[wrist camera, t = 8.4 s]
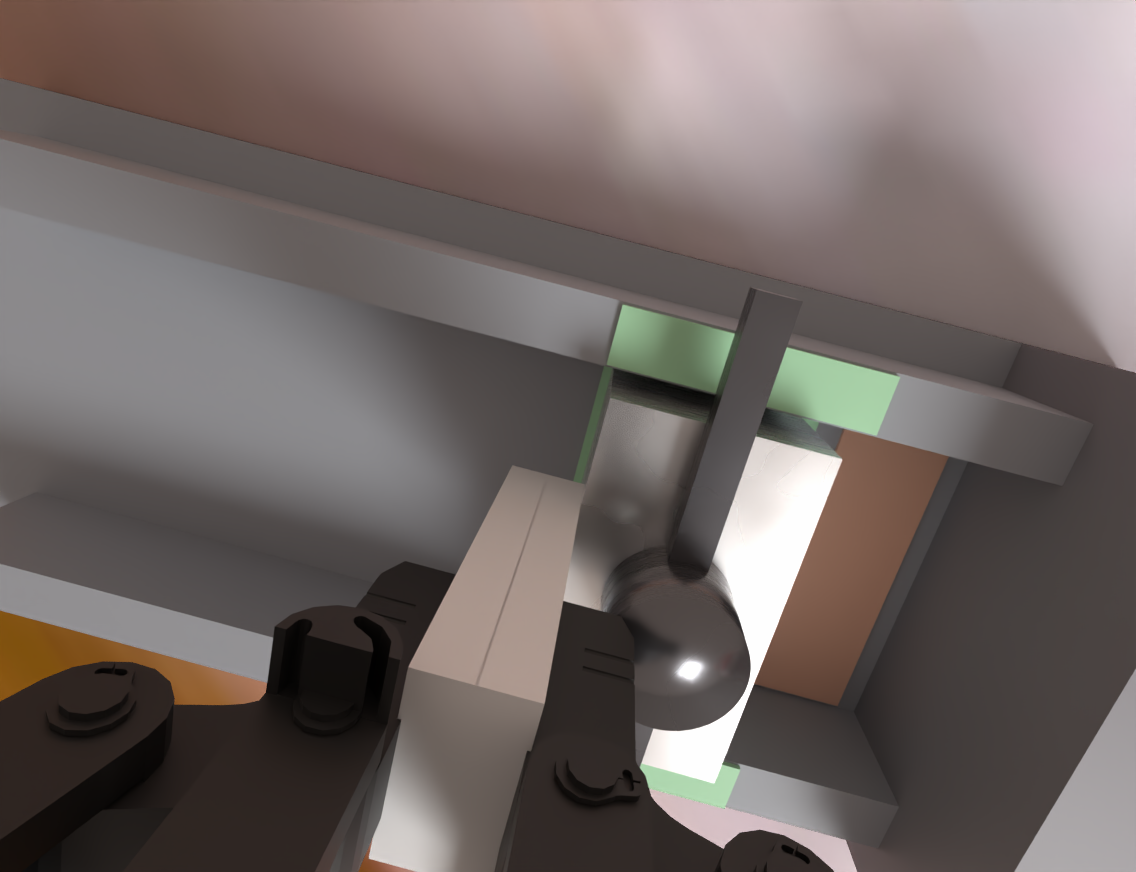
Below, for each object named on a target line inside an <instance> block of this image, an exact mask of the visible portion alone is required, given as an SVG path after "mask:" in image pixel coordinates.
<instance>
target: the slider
mask: <svg viewBox="0 0 1136 872" xmlns="http://www.w3.org/2000/svg"><path fill="white" fill-rule="evenodd" d="M802 303H803V301H800V300H797V299H794V298H791V297H787V296H783V295H779V294H775V293H772V292H768V291H764V290H760V289H756V288H752V287H750V288H749V291H748V295H747V298H746V301H745V304H744V307H743V310H742V313H741V316H740V319H739V322H738V325H737V328H736V332H735V335H734V338H733V341H732V344H731V347H730V350H729V353H728V356H727V359H726V362H725V366H724V369H723V372H722V375H721V378H720V381H719V384H718V387H717V390H716V393H715V395H714V394H710V393H706V392H702V391H698V390H695V389H691V388H687V387H683V386H679V385H676V384H672V383H668V382H664V381H660V380H657V379H653V378H649V377H645V376H641V375H637V374H634V373H630V372H626V371H622V370H618V369H615V368H612V371H611V375H610V378H609V382H608V386H607V389H606V393H605V397H604V400H603V404H602V408H601V411H600V415H599V419H598V422H597V426H596V430H595V433H594V437H593V441H592V444H591V448H590V452H589V455H588V459H587V463H586V466H585V470H584V474H583V478H582V481H581V484H584V487H583V493H582V498H581V503H580V509H579V517H578V522H577V528H576V533H575V539H574V544H573V550H572V555H571V561H570V566H569V572H568V577H567V583H566V588H565V594H564V599H563V601H566V602H570V603H573V604H577V605H581V606H585V607H588V608H592V609H596V610H599V611H603V612H607V613H611V614H614V615H618V616H621V617H622V619H623V621H624V622H625V624H626V626H627V627H628V629H629V631H630V632H631V634H632V636H633V638H634V669H635V680H634V685H635V741H636V763H637V764H638V766H639V767H640V766H641V764H645V765H649V766H652V767H656V768H660V769H663V770H667V771H671V772H674V773H678V774H682V775H686V776H689V777H693V778H697V779H700V780H704V781H708V782H711V783H715V780H716V778H717V775H718V773H719V770H720V768H721V765H722V763H723V760H724V758H725V755H726V753H727V750H728V747H729V745H730V742H731V740H732V737H733V735H734V732H735V730H736V727H737V725H738V722H739V720H740V717H741V715H742V712H743V710H744V707H745V705H746V702H747V699H748V697H749V694H750V692H751V689H752V687H753V684H754V682H755V679H756V677H757V674H758V672H759V669H760V667H761V664H762V662H763V659H764V657H765V654H766V651H767V649H768V646H769V644H770V641H771V639H772V636H773V634H774V631H775V629H776V626H777V624H778V621H779V619H780V616H781V614H782V611H783V608H784V606H785V603H786V601H787V598H788V596H789V593H790V591H791V588H792V586H793V583H794V581H795V578H796V576H797V573H798V571H799V568H800V566H801V563H802V560H803V558H804V555H805V553H806V550H807V548H808V545H809V543H810V540H811V538H812V535H813V533H814V530H815V528H816V525H817V523H818V520H819V518H820V515H821V512H822V510H823V507H824V505H825V502H826V500H827V497H828V495H829V492H830V490H831V487H832V485H833V482H834V480H835V477H836V475H837V472H838V469H839V467H840V464H841V462H842V458H841V457H840V456H839V455H838V454H837V453H836V452H835V451H834V450H833V449H832V448H831V447H830V446H829V445H828V444H827V443H826V442H825V441H824V440H823V439H822V438H821V437H820V436H819V435H818V434H817V433H816V432H815V431H814V430H813V429H812V428H811V426H810V425H809V424H808V423H807V422H806V421H805V420H804V419H803V418H801V417H797V416H794V415H790V414H786V413H782V412H778V411H775V410H771V409H767V408H766V405H767V403H768V400H769V397H770V394H771V391H772V388H773V385H774V383H775V380H776V377H777V374H778V371H779V368H780V365H781V363H782V360H783V357H784V354H785V351H786V348H787V345H788V343H789V340H790V337H791V334H792V331H793V328H794V325H795V323H796V320H797V317H798V314H799V311H800V308H801V305H802Z"/></svg>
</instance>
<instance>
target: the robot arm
mask: <svg viewBox="0 0 1136 872" xmlns="http://www.w3.org/2000/svg"><path fill="white" fill-rule="evenodd" d="M583 487H584V484H581V483H578V482H574V481H570V480H566V479H563V478H559V477H555V476H551V475H548V474H544V473H540V472H536V471H532V470H529V469H525V468H521V467H517V466H514V465H512V467H511V469H510V471H509V473H508V475H507V477H506V479H505V481H504V483H503V485H502V487H501V489H500V490H499V492H498V494H497V496H496V498H495V500H494V502H493V504H492V506H491V508H490V510H489V512H488V514H487V516H486V518H485V519H484V521H483V523H482V525H481V527H480V529H479V531H478V533H477V535H476V537H475V539H474V541H473V543H472V545H471V547H470V549H469V550H468V552H467V554H466V556H465V558H464V560H463V562H462V564H461V566H460V568H459V570H458V572H457V574H452V573H448V572H445V571H441V570H437V569H434V568H430V567H426V566H422V565H419V564H415V563H411V562H407V561H404V562H402V563H400V564H398V565H396V566H394V567H392V568H390V569H388V570H386V571H384V572H383V573H381V574H380V575H379V577H378V578H377V579H376V581H375V582H374V583H373V585H372V586H371V587H370V589H369V590H368V591H367V594H366V596H364V597H363V598H362V599H361V601H360V602H359V603H358V605H357V606H356V608H355V607H349V606H342V605H332V606H319V607H312V608H309V609H306V610H303V611H300V612H297V613H293V614H291V615H290V616H288V617H287V618H285V619H284V620H283V621H281V622H280V623H279V624H277V625H276V626H275V628H274V635H273V643H272V650H271V658H270V666H269V673H268V681H267V688H266V693H265V694H264V696H263V697H262V698H261V699H260V701H255V702H251V703H246V704H237V705H174V699H175V698H174V695H173V691H172V687H171V683H170V681H169V680H167V679H166V678H165V677H164V676H163V675H162V674H160V673H159V672H158V671H157V670H156V669H152V668H149V667H146V666H143V665H139V664H136V663H133V662H99V663H93V664H88V665H82V666H77V667H72V668H70V669H67V670H65V671H62V672H59V673H57V674H54V675H52V676H49V677H47V678H44V679H42V680H40V681H38V682H36V683H35V684H33V685H31V686H29V687H27V688H25V689H23V690H21V691H19V692H18V693H16V694H14V695H12V696H10V697H8V698H6V699H4V700H2V701H1V702H0V872H358V871H359V868H360V866H361V864H362V861H363V859H364V857H365V854H366V852H367V850H368V847H369V845H370V843H371V840H372V838H373V840H372V845H371V850H370V855H369V859H372V860H376V861H380V862H383V863H387V864H391V865H394V866H398V867H402V868H405V869H409V870H413V871H416V872H834V871H833V870H832V869H831V868H830V867H829V866H828V865H827V864H826V863H824V862H823V861H822V860H821V859H820V858H819V857H818V856H816V855H815V854H814V853H813V852H812V851H811V850H810V849H808V848H806V847H804V846H803V845H801V844H799V843H797V842H795V841H793V840H792V839H790V838H788V837H786V836H784V835H780V834H776V833H771V832H767V831H763V830H756V831H749V832H742V833H739V834H738V835H737V836H735V837H734V838H733V839H732V840H731V841H729V842H728V843H727V844H726V845H725V848H724V849H723V848H721V847H719V846H717V845H716V844H714V843H712V842H710V841H709V840H707V839H705V838H703V837H702V836H700V835H698V834H696V833H695V832H693V831H691V830H689V829H688V828H686V827H685V826H683V825H682V824H680V823H679V822H677V821H676V820H674V819H673V818H672V817H670V816H669V815H668V814H667V813H666V812H665V811H664V810H663V809H662V808H661V807H660V806H659V805H658V804H657V803H656V802H655V801H654V800H653V798H652V797H651V794H650V791H649V787H648V783H647V779H646V776H645V774H644V773H643V771H642V770H641V769H640V767H639V766H638V764H637V763H636V741H635V685H634V680H635V669H634V638H633V636H632V634H631V632H630V631H629V629H628V627H627V626H626V624H625V622H624V621H623V619H622V617H621V616H618V615H614V614H611V613H607V612H603V611H599V610H596V609H592V608H588V607H585V606H581V605H577V604H573V603H570V602H566V601H563V599H564V594H565V588H566V583H567V577H568V572H569V566H570V561H571V555H572V550H573V544H574V539H575V533H576V528H577V522H578V517H579V509H580V503H581V498H582V493H583Z"/></svg>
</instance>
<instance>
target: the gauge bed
mask: <svg viewBox="0 0 1136 872" xmlns="http://www.w3.org/2000/svg"><path fill="white" fill-rule="evenodd" d="M750 287H752V288H756V289H760V290H764V291H768V292H772V293H775V294H779V295H783V296H787V297H791V298H794V299H797V300H800V301H803V303H802V305H801V308H800V311H799V314H798V317H797V320H796V323H795V325H794V328H793V331H792V334H791V337H790V340H789V343H788V345H787V348H786V351H785V354H784V357H783V360H782V363H781V365H780V368H779V371H778V374H777V377H776V380H775V383H774V385H773V388H772V391H771V394H770V397H769V400H768V403H767V405H766V408H767V409H771V410H775V411H778V412H782V413H786V414H790V415H794V416H797V417H801V418H803V419H804V420H805V421H806V422H807V423H808V424H809V425H810V426H811V428H812V429H813V430H814V431H815V432H816V433H817V434H818V435H819V436H820V437H821V438H822V439H823V440H824V441H825V442H826V443H827V444H828V445H829V446H830V447H831V448H832V449H833V450H834V451H835V452H836V453H837V454H838V455H839V456H840V457H841V458H842V462H841V464H840V467H839V469H838V472H837V475H836V477H835V480H834V482H833V485H832V487H831V490H830V492H829V495H828V497H827V500H826V502H825V505H824V507H823V510H822V512H821V515H820V518H819V520H818V523H817V525H816V528H815V530H814V533H813V535H812V538H811V540H810V543H809V545H808V548H807V550H806V553H805V555H804V558H803V560H802V563H801V566H800V568H799V571H798V573H797V576H796V578H795V581H794V583H793V586H792V588H791V591H790V593H789V596H788V598H787V601H786V603H785V606H784V608H783V611H782V614H781V616H780V619H779V621H778V624H777V626H776V629H775V631H774V634H773V636H772V639H771V641H770V644H769V646H768V649H767V651H766V654H765V657H764V659H763V662H762V664H761V667H760V669H759V672H758V674H757V677H756V679H755V682H754V684H753V687H752V689H751V692H750V694H749V697H748V699H747V702H746V705H745V707H744V710H743V712H742V715H741V717H740V720H739V722H738V725H737V727H736V730H735V732H734V735H733V737H732V740H731V742H730V745H729V747H728V750H727V753H726V755H725V758H724V760H723V763H722V765H721V768H720V770H719V773H718V775H717V778H716V780H715V783H711V782H708V781H704V780H700V779H697V778H693V777H689V776H686V775H682V774H678V773H674V772H671V771H667V770H663V769H660V768H656V767H652V766H649V765H645V764H641V766H640V769H641V770H642V771H643V773H644V774H645V776H646V779H647V783H648V787H649V789H653V790H657V791H660V792H664V793H668V794H672V795H675V796H679V797H683V798H686V799H690V800H694V801H697V802H701V803H705V804H708V805H712V806H716V807H719V808H723V809H725V807H727V808H730V809H734V810H738V811H741V812H745V813H749V814H753V815H756V816H760V817H764V818H767V819H771V820H775V821H778V822H782V823H786V824H789V825H793V826H797V827H800V828H804V829H808V830H811V831H815V832H819V833H823V834H826V835H830V836H834V837H837V838H841V839H845V840H846V841H847V844H848V847H849V850H850V853H851V855H852V858H853V861H854V864H855V866H856V869H857V872H1136V373H1134V372H1130V371H1126V370H1122V369H1118V368H1115V367H1111V366H1107V365H1103V364H1099V363H1095V362H1091V361H1088V360H1084V359H1080V358H1076V357H1072V356H1068V355H1065V354H1061V353H1057V352H1053V351H1049V350H1045V349H1041V348H1038V347H1034V346H1030V345H1026V344H1022V343H1018V342H1014V341H1011V340H1007V339H1003V338H999V337H995V336H991V335H988V334H984V333H980V332H976V331H972V330H968V329H964V328H961V327H957V326H953V325H949V324H945V323H941V322H938V321H934V320H930V319H926V318H922V317H918V316H914V315H911V314H907V313H903V312H899V311H895V310H891V309H887V308H884V307H880V306H876V305H872V304H868V303H864V302H861V301H857V300H853V299H849V298H845V297H841V296H837V295H834V294H830V293H826V292H822V291H818V290H814V289H811V288H807V287H803V286H799V285H795V284H791V283H787V282H784V281H780V280H776V279H772V278H768V277H764V276H761V275H757V274H753V273H749V272H745V271H741V270H737V269H734V268H730V267H726V266H722V265H718V264H714V263H710V262H707V261H703V260H699V259H695V258H691V257H687V256H684V255H680V254H676V253H672V252H668V251H664V250H660V249H657V248H653V247H649V246H645V245H641V244H637V243H634V242H630V241H626V240H622V239H618V238H614V237H610V236H607V235H603V234H599V233H595V232H591V231H587V230H583V229H580V228H576V227H572V226H568V225H564V224H560V223H557V222H553V221H549V220H545V219H541V218H537V217H533V216H530V215H526V214H522V213H518V212H514V211H510V210H507V209H503V208H499V207H495V206H491V205H487V204H483V203H480V202H476V201H472V200H468V199H464V198H460V197H457V196H453V195H449V194H445V193H441V192H437V191H433V190H430V189H426V188H422V187H418V186H414V185H410V184H406V183H403V182H399V181H395V180H391V179H387V178H383V177H380V176H376V175H372V174H368V173H364V172H360V171H356V170H353V169H349V168H345V167H341V166H337V165H333V164H330V163H326V162H322V161H318V160H314V159H310V158H306V157H303V156H299V155H295V154H291V153H287V152H283V151H279V150H276V149H272V148H268V147H264V146H260V145H256V144H253V143H249V142H245V141H241V140H237V139H233V138H229V137H226V136H222V135H218V134H214V133H210V132H206V131H203V130H199V129H195V128H191V127H187V126H183V125H179V124H176V123H172V122H168V121H164V120H160V119H156V118H153V117H149V116H145V115H141V114H137V113H133V112H129V111H126V110H122V109H118V108H114V107H110V106H106V105H102V104H99V103H95V102H91V101H87V100H83V99H79V98H76V97H72V96H68V95H64V94H60V93H56V92H52V91H49V90H45V89H41V88H37V87H33V86H29V85H25V84H22V83H18V82H14V81H10V80H6V79H2V78H0V610H1V611H4V612H8V613H12V614H16V615H19V616H23V617H27V618H30V619H34V620H38V621H41V622H45V623H49V624H52V625H56V626H60V627H63V628H67V629H71V630H74V631H78V632H82V633H86V634H89V635H93V636H97V637H100V638H104V639H108V640H111V641H115V642H119V643H122V644H126V645H130V646H133V647H137V648H141V649H145V650H148V651H152V652H156V653H159V654H163V655H167V656H170V657H174V658H178V659H181V660H185V661H189V662H192V663H196V664H200V665H203V666H207V667H211V668H215V669H218V670H222V671H226V672H229V673H233V674H237V675H240V676H244V677H248V678H251V679H255V680H259V681H262V682H266V683H267V681H268V673H269V666H270V658H271V650H272V643H273V635H274V628H275V626H276V625H277V624H279V623H280V622H281V621H283V620H284V619H285V618H287V617H288V616H290V615H291V614H293V613H297V612H300V611H303V610H306V609H309V608H312V607H319V606H332V605H342V606H349V607H355V608H356V606H357V605H358V603H359V602H360V601H361V599H362V598H363V597H364V596H366V594H367V591H368V590H369V589H370V587H371V586H372V585H373V583H374V582H375V581H376V579H377V578H378V577H379V575H380V574H381V573H383V572H384V571H386V570H388V569H390V568H392V567H394V566H396V565H398V564H400V563H402V562H404V561H407V562H411V563H415V564H419V565H422V566H426V567H430V568H434V569H437V570H441V571H445V572H448V573H452V574H457V572H458V570H459V568H460V566H461V564H462V562H463V560H464V558H465V556H466V554H467V552H468V550H469V549H470V547H471V545H472V543H473V541H474V539H475V537H476V535H477V533H478V531H479V529H480V527H481V525H482V523H483V521H484V519H485V518H486V516H487V514H488V512H489V510H490V508H491V506H492V504H493V502H494V500H495V498H496V496H497V494H498V492H499V490H500V489H501V487H502V485H503V483H504V481H505V479H506V477H507V475H508V473H509V471H510V469H511V467H512V465H514V466H517V467H521V468H525V469H529V470H532V471H536V472H540V473H544V474H548V475H551V476H555V477H559V478H563V479H566V480H570V481H574V482H578V483H581V481H582V478H583V474H584V470H585V466H586V463H587V459H588V455H589V452H590V448H591V444H592V441H593V437H594V433H595V430H596V426H597V422H598V419H599V415H600V411H601V408H602V404H603V400H604V397H605V393H606V389H607V386H608V382H609V378H610V375H611V371H612V368H615V369H618V370H622V371H626V372H630V373H634V374H637V375H641V376H645V377H649V378H653V379H657V380H660V381H664V382H668V383H672V384H676V385H679V386H683V387H687V388H691V389H695V390H698V391H702V392H706V393H710V394H714V395H715V393H716V390H717V387H718V384H719V381H720V378H721V375H722V372H723V369H724V366H725V362H726V359H727V356H728V353H729V350H730V347H731V344H732V341H733V338H734V335H735V332H736V328H737V325H738V322H739V319H740V316H741V313H742V310H743V307H744V304H745V301H746V298H747V295H748V291H749V288H750Z"/></svg>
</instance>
